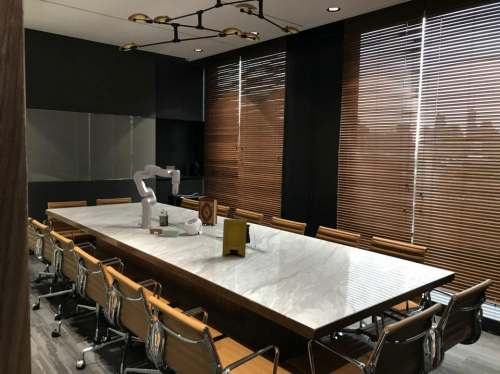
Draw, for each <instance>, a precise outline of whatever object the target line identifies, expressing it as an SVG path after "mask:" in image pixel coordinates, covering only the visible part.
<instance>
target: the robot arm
mask: <svg viewBox="0 0 500 374" xmlns="http://www.w3.org/2000/svg"><path fill="white" fill-rule="evenodd" d="M153 175H156V176H158V177H163V178H171V184H172V192H171V193H172V194H173V196H172V197H173V198H172V199H173V201H177V200H178V194H179V185H180V182H181V181H180V180H181V177H180V176H181V172H180V170H179V169H170V168H169V169H168V168H167V169H164V168H162V167H160V166H157V165H155V164H147V165H144V170H138V171H136V172H135V173H134V175H133V181H134V183H135V185H136V188H137V191H138V193H139V194H138V195H139V196H140V197H142V199H141V223H139V222H138V223H137V226H140V229H150V228H153V225H152V216H153V215H152V213H153V212H152V211H153V210H152V207H154V206H155V205H156V204H157V203H158V202H157V197H156V194H155V192H154V190H153V189H152V188H151V187H147V186H146V183H145V181H143V180H148V179H149V178H150V177H152V176H153Z"/></svg>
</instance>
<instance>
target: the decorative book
mask: <svg viewBox="0 0 500 374" xmlns="http://www.w3.org/2000/svg"><path fill="white" fill-rule="evenodd" d="M218 203H219V199H218V198H213V197H211V198H210V197H209V198H208V197H198V212H197V213H198V214H197V218H199V219H200V220H201V222H202V224H206V225H205V226H208V225H213V226H216V225H215V224H217V225H218V206H219V204H218Z"/></svg>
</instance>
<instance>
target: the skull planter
mask: <svg viewBox="0 0 500 374" xmlns="http://www.w3.org/2000/svg"><path fill="white" fill-rule="evenodd" d="M183 229H184V232H185V233H186V234H187V236H190V235H191V236H195V235H197V234H199V235H202V234H203V225H202V222H201V220H200V219H199V218H198V216H197V217H191V218H189V219H188V220H186V221H185V222H184V225H183ZM198 232H199V233H198Z"/></svg>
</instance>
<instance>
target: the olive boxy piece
mask: <svg viewBox="0 0 500 374" xmlns="http://www.w3.org/2000/svg"><path fill="white" fill-rule="evenodd" d="M248 223H250V221H249V222H248V220H247V219H240V218H239V219H237V218H224V219H223V227H222V228H223V229H222V230H223V231H222V232H223V233H222V236H216V239H222V251H221V252H222V254H221V257H222V256H224V257H225V256H226V255H227V254H237V255H241V256H242V258H246V250H247V249H246V247H247V245H248V244H251V236H250V227H251V224H248ZM252 228H253V231H254V228H255V227H252ZM255 237H256V236H255V235H253V238H254V240H256V239H255ZM254 246H255V247H254V249H253V250H255V248H256V244H254ZM247 254H248V255H249V254H250V253H248V252H247Z"/></svg>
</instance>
